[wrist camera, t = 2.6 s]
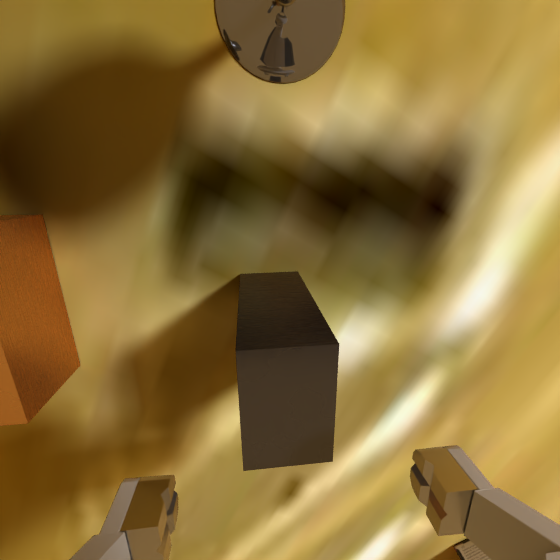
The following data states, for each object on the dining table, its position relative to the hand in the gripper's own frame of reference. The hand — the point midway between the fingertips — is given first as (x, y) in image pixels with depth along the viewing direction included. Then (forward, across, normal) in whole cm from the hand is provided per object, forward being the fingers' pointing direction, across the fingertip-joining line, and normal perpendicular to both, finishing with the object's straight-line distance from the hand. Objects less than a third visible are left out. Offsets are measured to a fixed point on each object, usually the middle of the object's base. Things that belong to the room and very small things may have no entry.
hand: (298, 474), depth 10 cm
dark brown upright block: (+13, 0, -1) cm, 13 cm away
